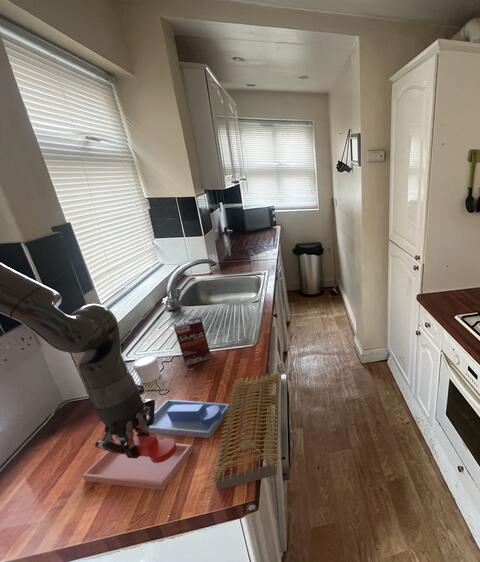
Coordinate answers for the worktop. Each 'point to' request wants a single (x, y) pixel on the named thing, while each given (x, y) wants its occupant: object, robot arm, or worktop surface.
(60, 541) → the worktop surface
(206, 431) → the blue tray
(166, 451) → the red spoon
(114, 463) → the rose tray
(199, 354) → the supplement box
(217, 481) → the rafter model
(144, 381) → the white short cylinder
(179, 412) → the blue spoon
